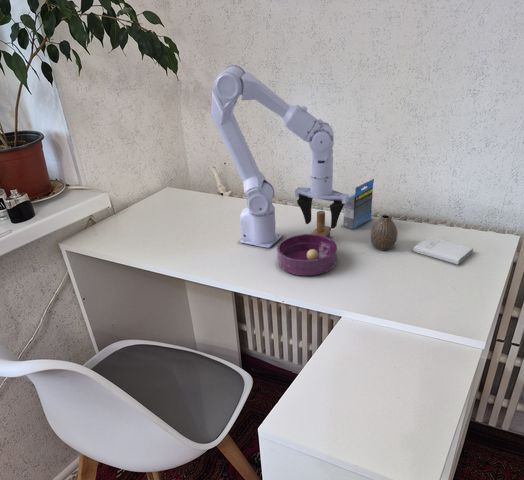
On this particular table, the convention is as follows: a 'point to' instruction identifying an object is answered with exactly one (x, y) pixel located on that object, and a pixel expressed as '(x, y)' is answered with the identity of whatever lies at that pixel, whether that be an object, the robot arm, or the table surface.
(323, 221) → the brush
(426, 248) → the hard drive
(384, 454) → the table surface
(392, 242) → the vase
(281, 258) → the bowl
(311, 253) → the dough ball
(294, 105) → the robot arm
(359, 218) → the tape cartridge
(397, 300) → the table surface
